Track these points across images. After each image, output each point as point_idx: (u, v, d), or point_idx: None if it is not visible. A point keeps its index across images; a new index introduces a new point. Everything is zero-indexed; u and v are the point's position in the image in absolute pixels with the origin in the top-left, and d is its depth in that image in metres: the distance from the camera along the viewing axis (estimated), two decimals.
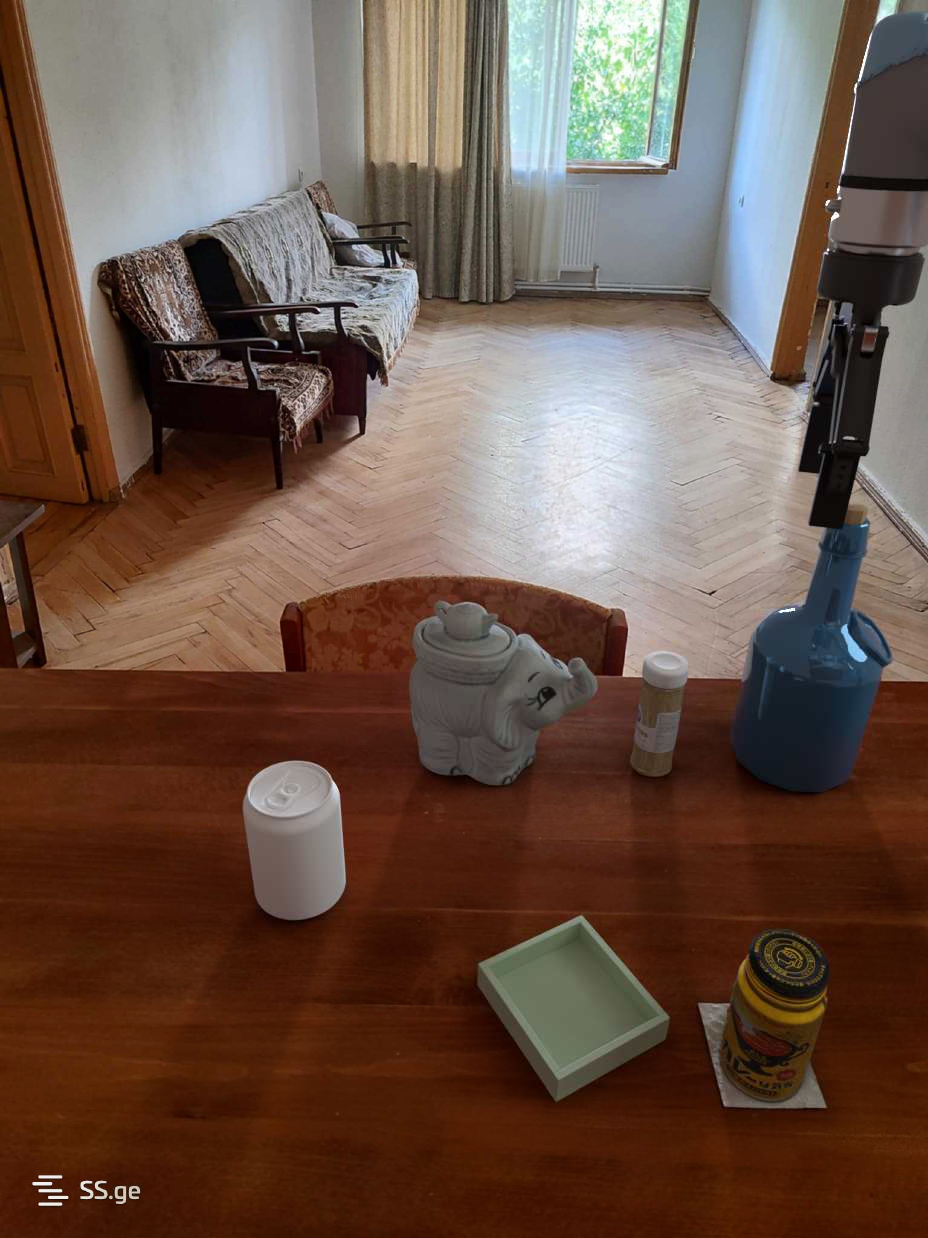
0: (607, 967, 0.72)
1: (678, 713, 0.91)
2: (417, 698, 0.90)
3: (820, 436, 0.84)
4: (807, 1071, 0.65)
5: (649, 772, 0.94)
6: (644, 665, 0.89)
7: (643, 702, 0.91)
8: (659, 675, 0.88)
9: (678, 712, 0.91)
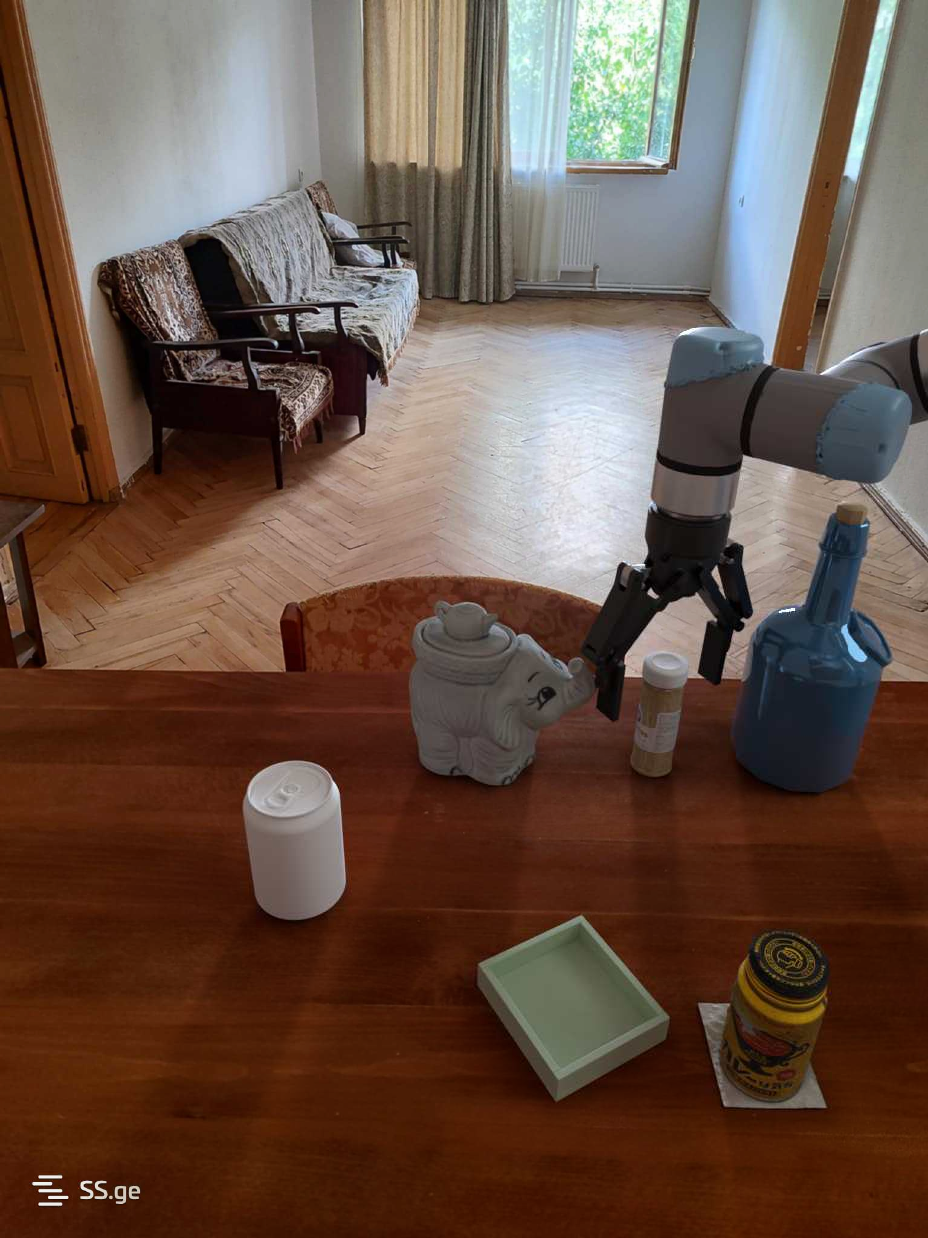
0: (607, 967, 0.72)
1: (678, 713, 0.91)
2: (417, 699, 0.90)
3: (711, 649, 0.92)
4: (807, 1071, 0.65)
5: (649, 772, 0.94)
6: (644, 665, 0.89)
7: (643, 702, 0.91)
8: (658, 675, 0.88)
9: (678, 712, 0.91)
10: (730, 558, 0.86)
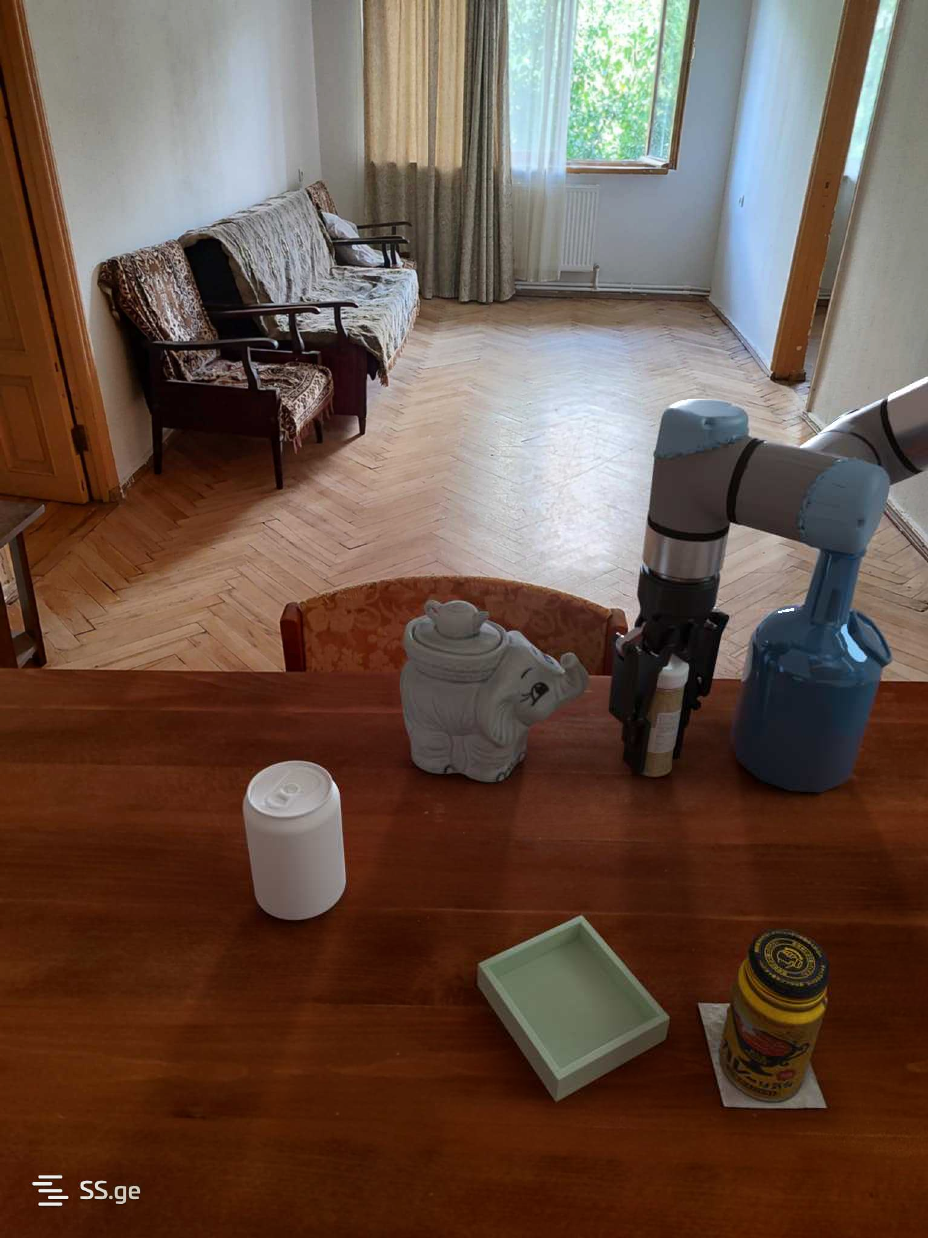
0: (607, 967, 0.72)
1: (678, 713, 0.91)
2: (410, 698, 0.90)
3: None
4: (807, 1071, 0.65)
5: (649, 772, 0.94)
6: None
7: None
8: None
9: (678, 712, 0.91)
10: (715, 624, 0.89)
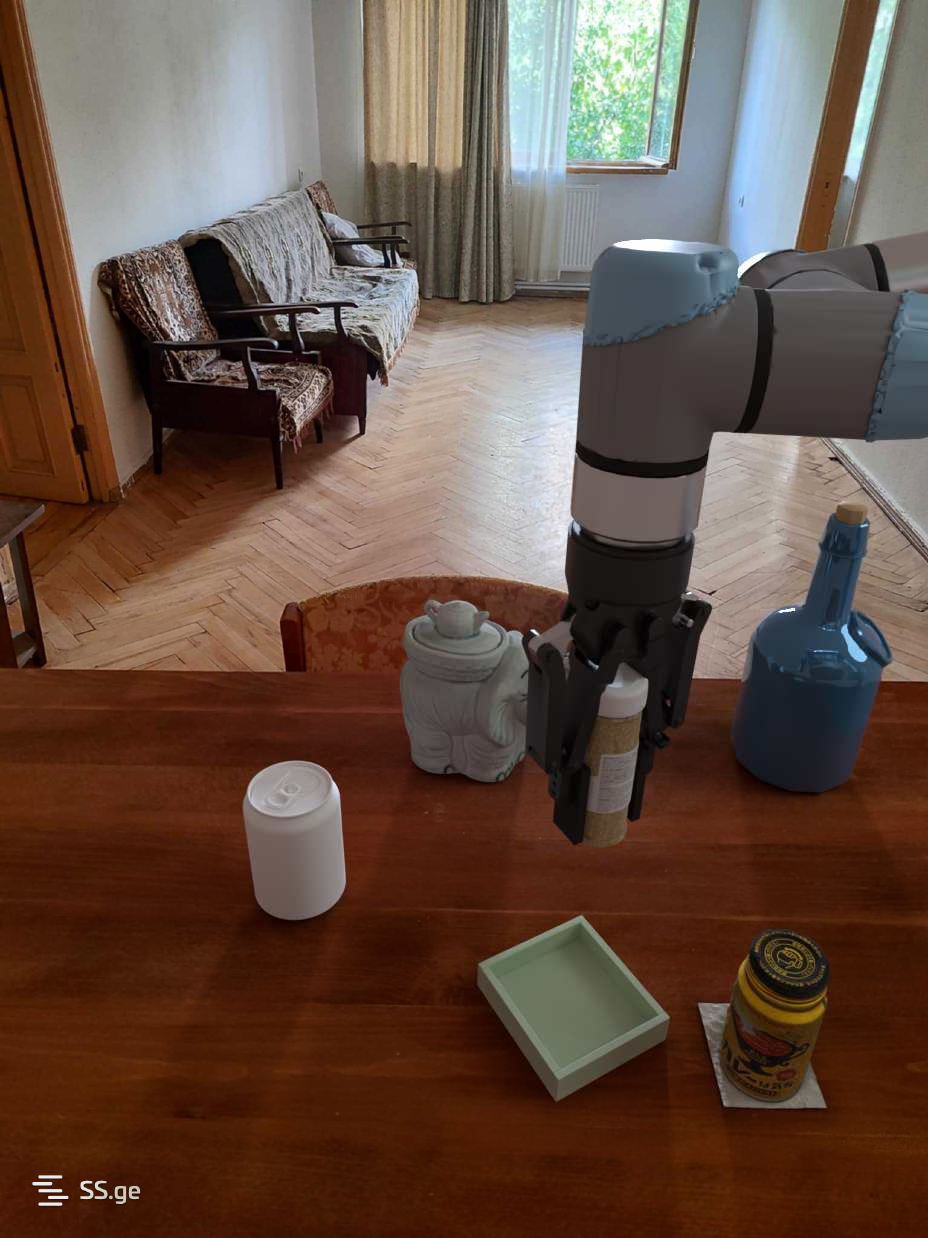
0: (607, 967, 0.72)
1: (633, 754, 0.59)
2: (410, 698, 0.90)
3: None
4: (807, 1071, 0.65)
5: (591, 841, 0.62)
6: None
7: None
8: None
9: (633, 753, 0.59)
10: (689, 618, 0.58)
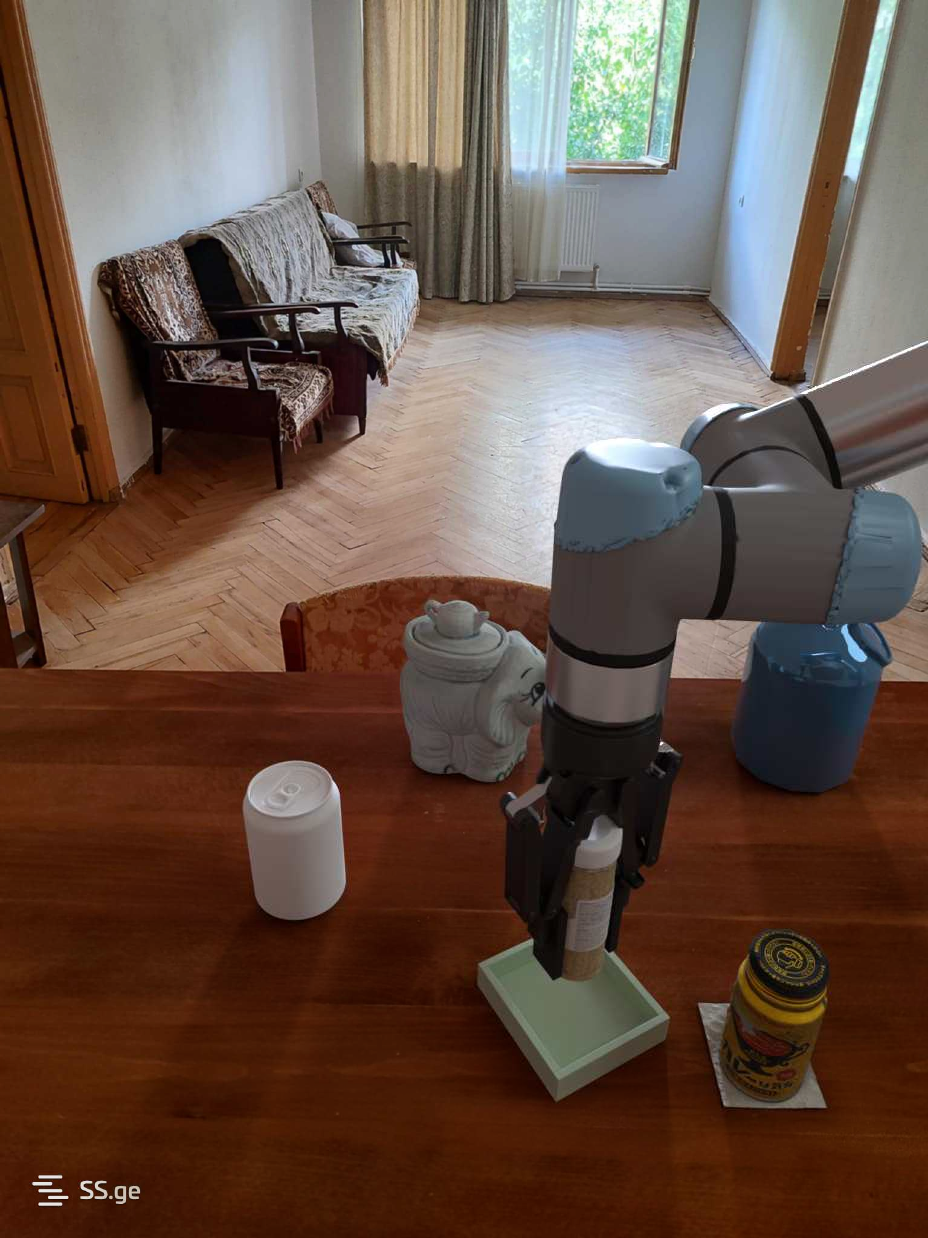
0: (607, 967, 0.72)
1: (608, 898, 0.61)
2: (410, 698, 0.90)
3: None
4: (807, 1071, 0.65)
5: (569, 975, 0.64)
6: None
7: None
8: None
9: (608, 897, 0.61)
10: (662, 770, 0.60)
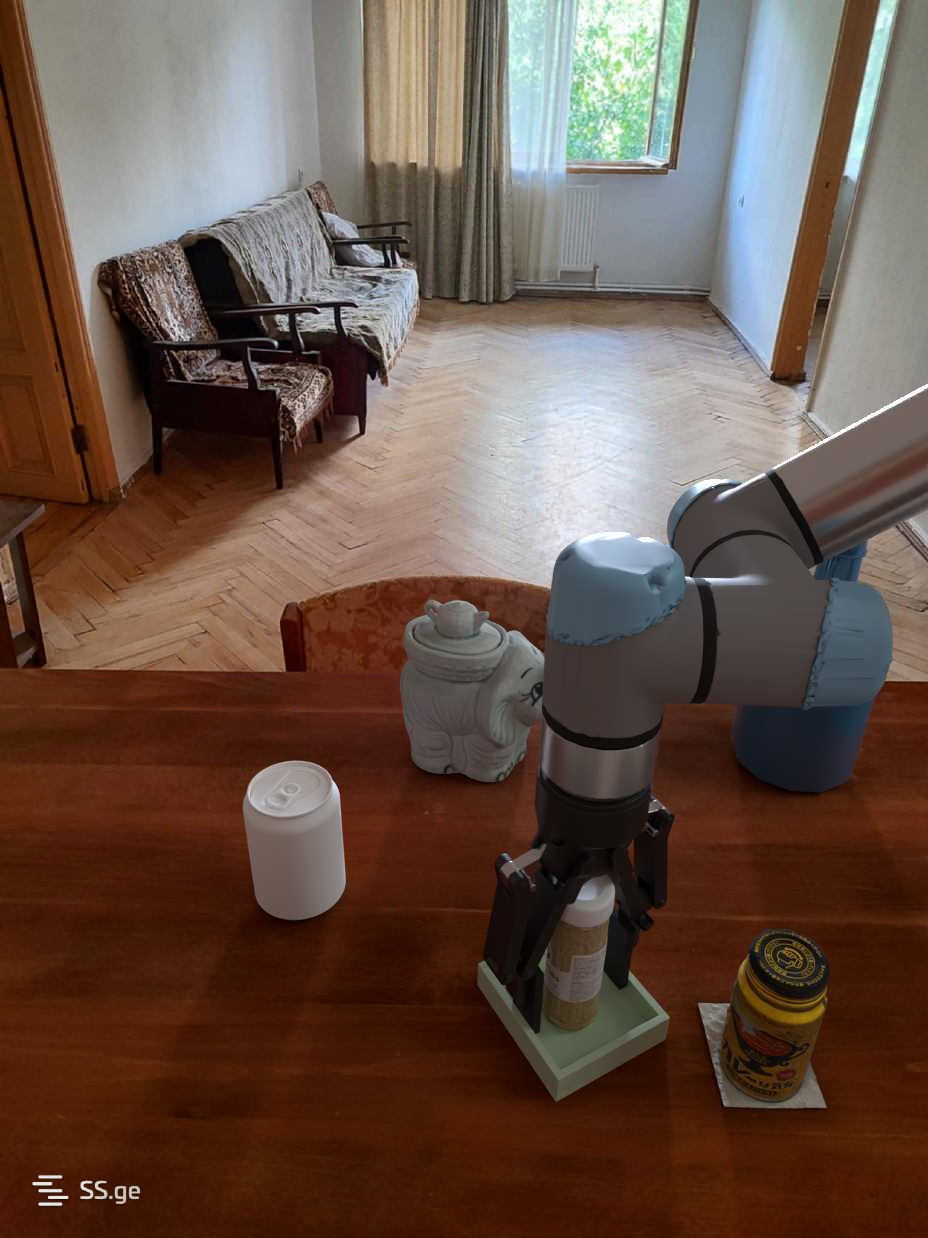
0: None
1: (601, 952, 0.64)
2: (410, 698, 0.90)
3: (612, 945, 0.68)
4: (807, 1071, 0.65)
5: (564, 1024, 0.67)
6: None
7: (552, 937, 0.64)
8: (570, 909, 0.61)
9: (601, 951, 0.64)
10: (654, 828, 0.62)
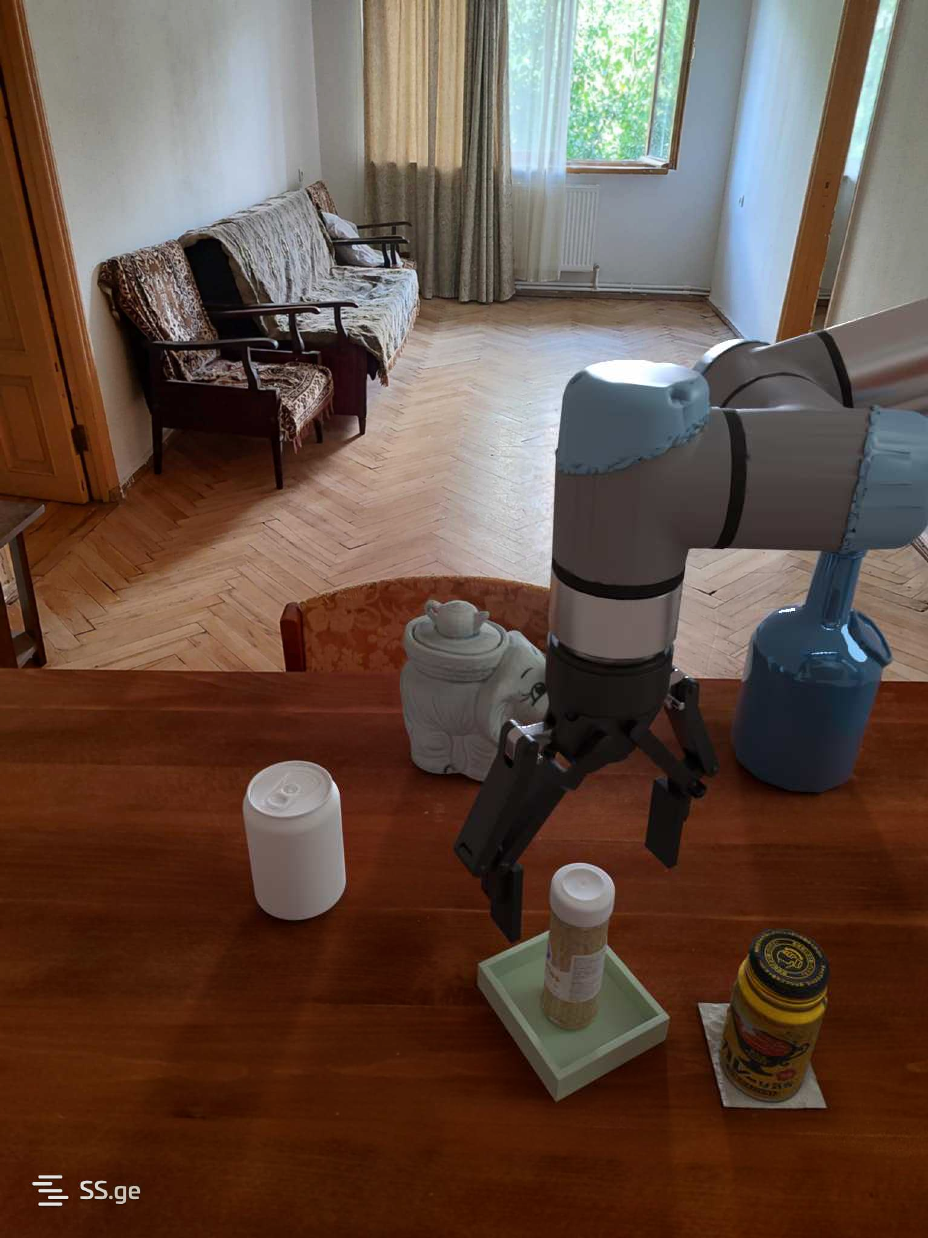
0: (607, 967, 0.72)
1: (601, 952, 0.64)
2: (410, 698, 0.90)
3: (661, 819, 0.64)
4: (807, 1071, 0.65)
5: (564, 1024, 0.67)
6: (551, 889, 0.63)
7: (552, 937, 0.64)
8: (570, 909, 0.61)
9: (601, 951, 0.64)
10: (679, 701, 0.57)
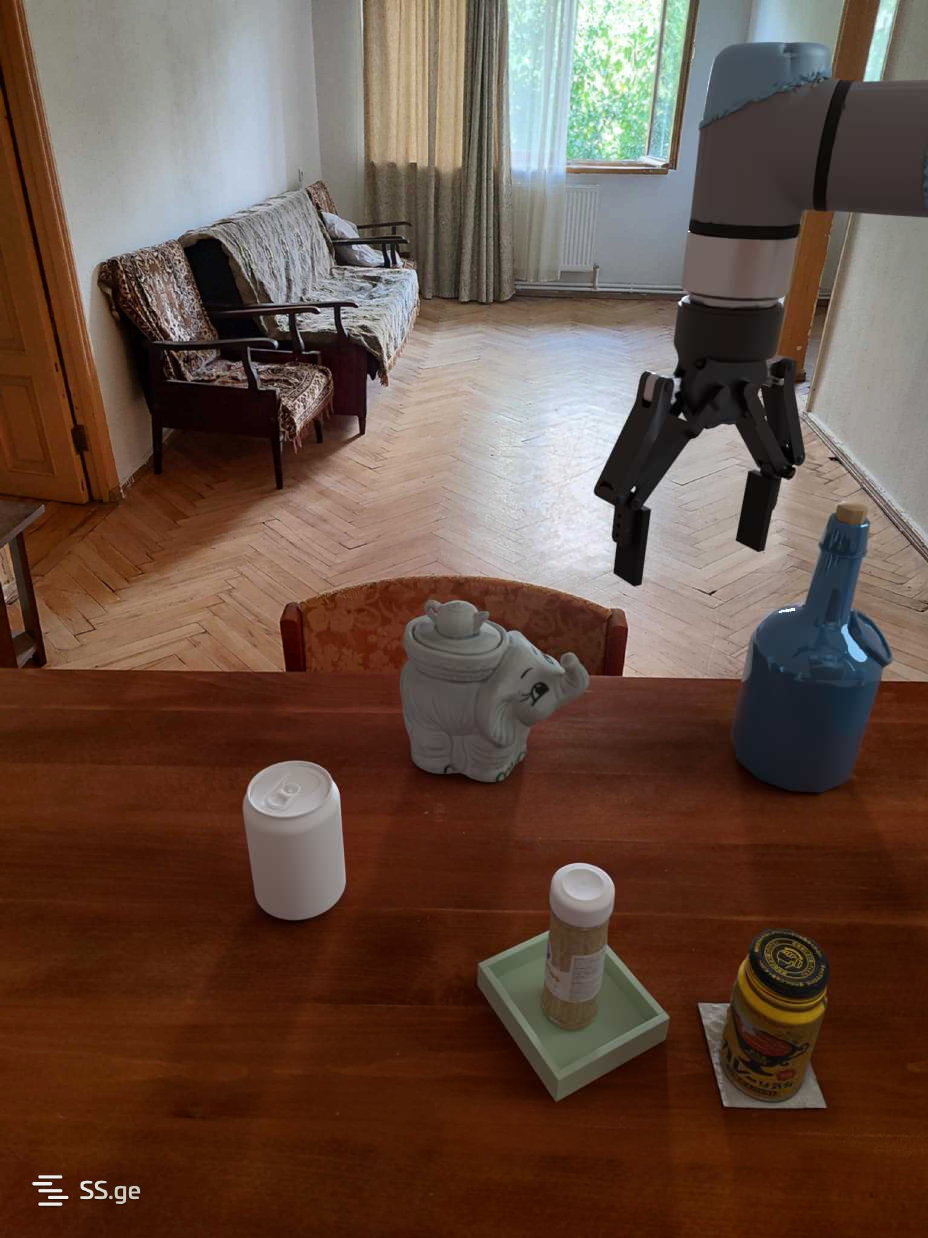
0: (607, 967, 0.72)
1: (601, 952, 0.64)
2: (410, 698, 0.90)
3: (753, 506, 0.75)
4: (807, 1071, 0.65)
5: (564, 1024, 0.67)
6: (551, 889, 0.63)
7: (552, 937, 0.64)
8: (570, 909, 0.61)
9: (601, 951, 0.64)
10: (780, 377, 0.69)
